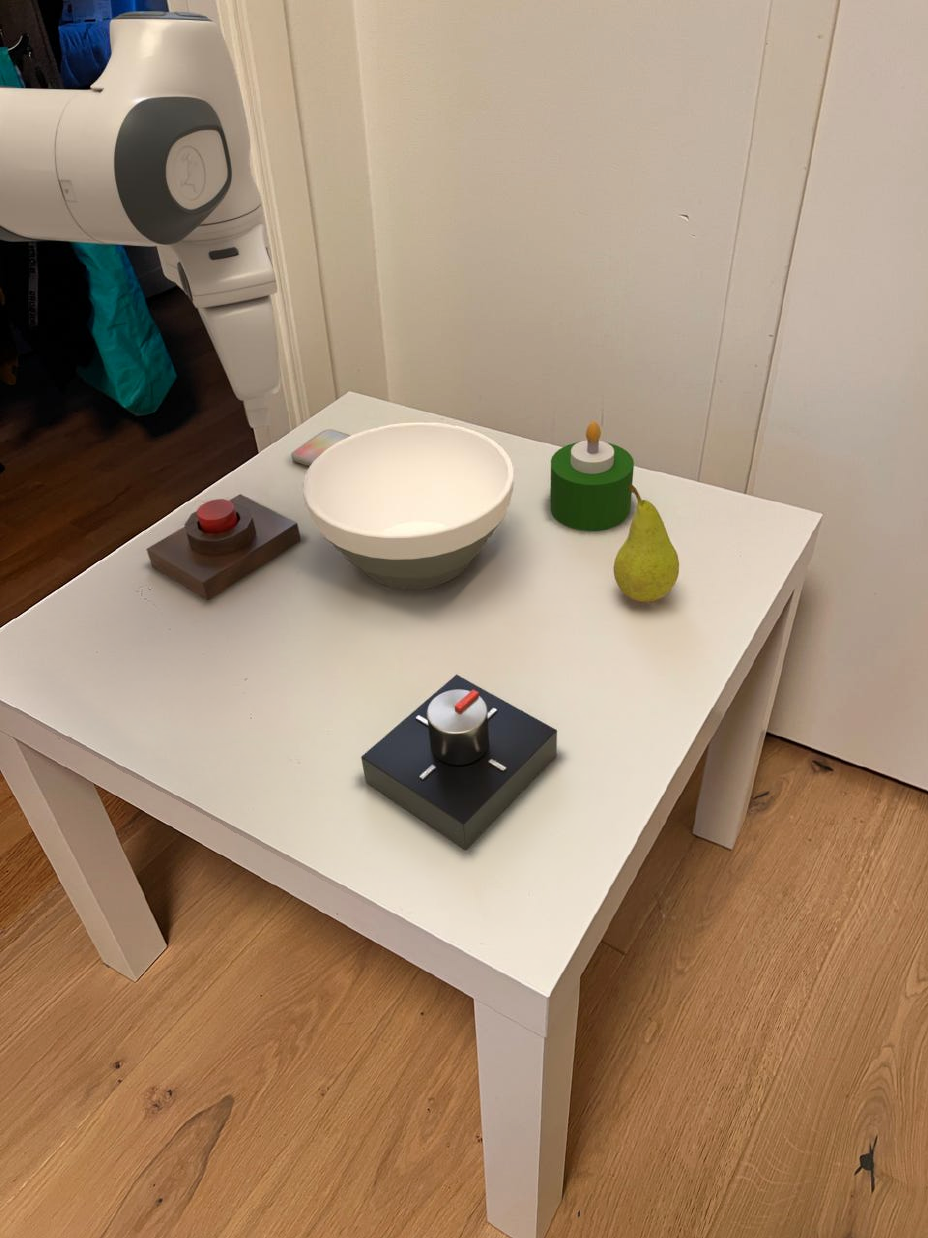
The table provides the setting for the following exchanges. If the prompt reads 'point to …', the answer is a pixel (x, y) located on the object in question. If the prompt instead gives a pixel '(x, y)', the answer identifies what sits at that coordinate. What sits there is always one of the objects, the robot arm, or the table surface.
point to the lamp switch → (223, 548)
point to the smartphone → (317, 446)
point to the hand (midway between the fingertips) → (248, 400)
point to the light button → (217, 516)
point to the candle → (591, 483)
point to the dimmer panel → (460, 767)
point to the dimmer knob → (458, 726)
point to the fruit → (646, 556)
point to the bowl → (410, 500)
